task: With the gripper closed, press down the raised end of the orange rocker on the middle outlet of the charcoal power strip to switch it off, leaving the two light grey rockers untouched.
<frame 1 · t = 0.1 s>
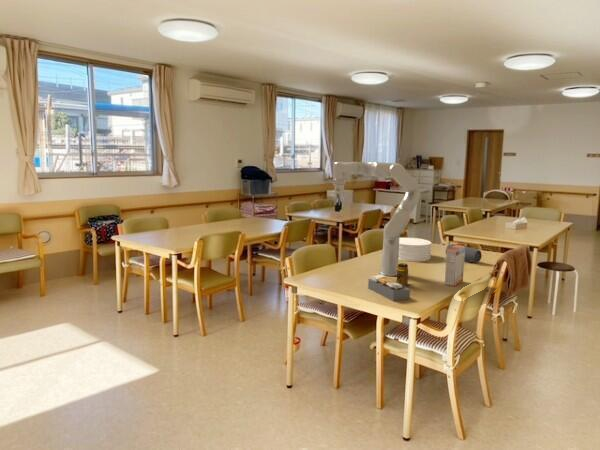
hand: (338, 210, 277), 37 cm above the table, tool pointing down, fingers open, 9 cm apart
bluetooth speaker: (462, 260, 316), on the table
cracker box: (453, 283, 259), on the table
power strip: (388, 293, 237), on the table
outlet 3 rocker: (394, 285, 229), point 6 cm above the table, hinge at -10.0°
outlet 1 rocker: (378, 278, 242), point 6 cm above the table, hinge at 10.0°
plate stack: (409, 257, 324), on the table
outlet 2 rocker: (386, 282, 236), point 6 cm above the table, hinge at -10.0°
condiment: (402, 285, 254), on the table
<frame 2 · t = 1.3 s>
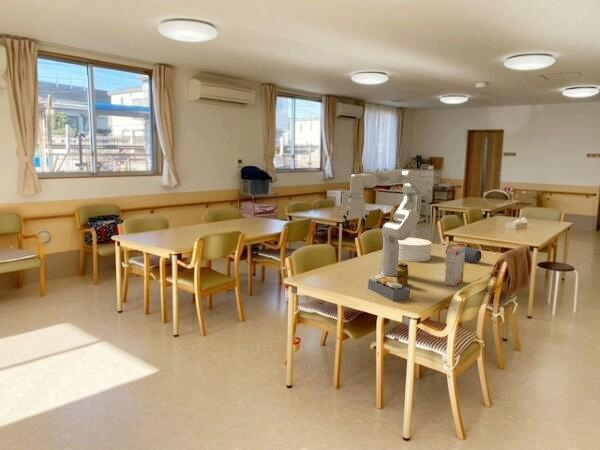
hand: (354, 226, 258), 31 cm above the table, tool pointing down, fingers open, 9 cm apart
nothing on the table moved.
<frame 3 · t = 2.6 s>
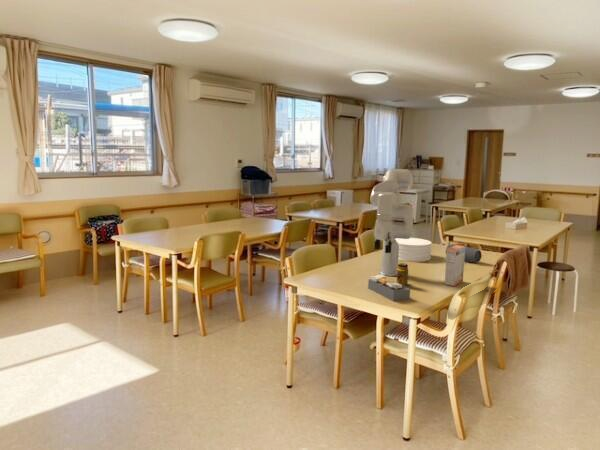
hand: (382, 250, 233), 23 cm above the table, tool pointing down, fingers open, 9 cm apart
nothing on the table moved.
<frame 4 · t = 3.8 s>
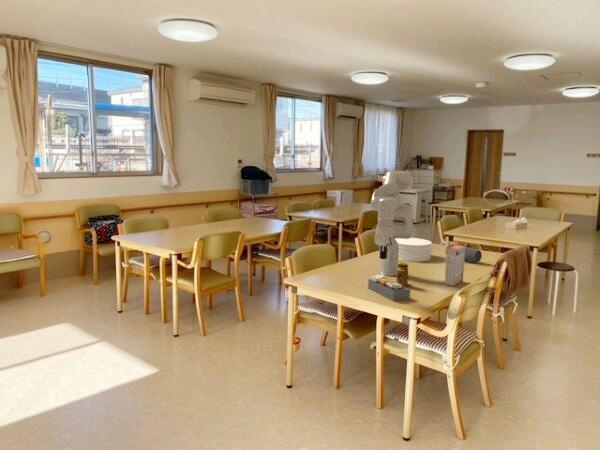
hand: (383, 258, 232), 19 cm above the table, tool pointing down, fingers closed
nothing on the table moved.
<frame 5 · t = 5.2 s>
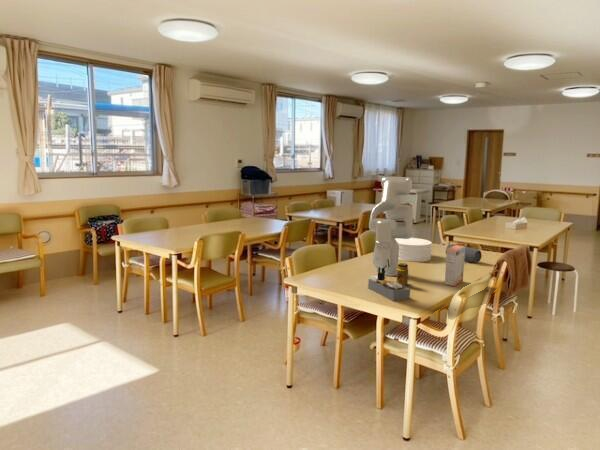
hand: (381, 279, 234), 8 cm above the table, tool pointing down, fingers closed
outlet 2 rocker: (386, 282, 236), point 6 cm above the table, hinge at -8.1°, touching gripper
everything else where it was.
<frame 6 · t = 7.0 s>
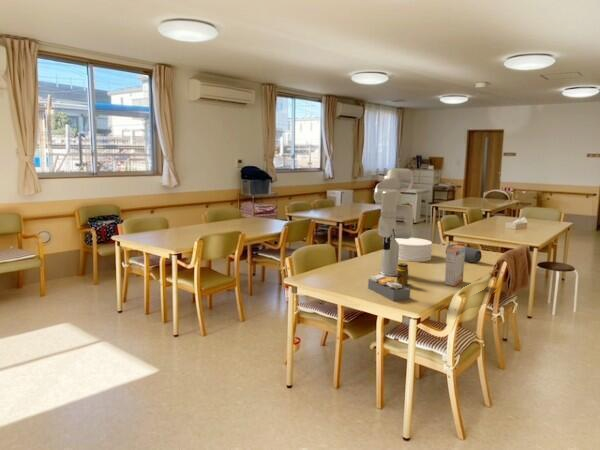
hand: (386, 249, 237), 23 cm above the table, tool pointing down, fingers closed
outlet 2 rocker: (386, 282, 236), point 6 cm above the table, hinge at 6.8°
everything else where it was.
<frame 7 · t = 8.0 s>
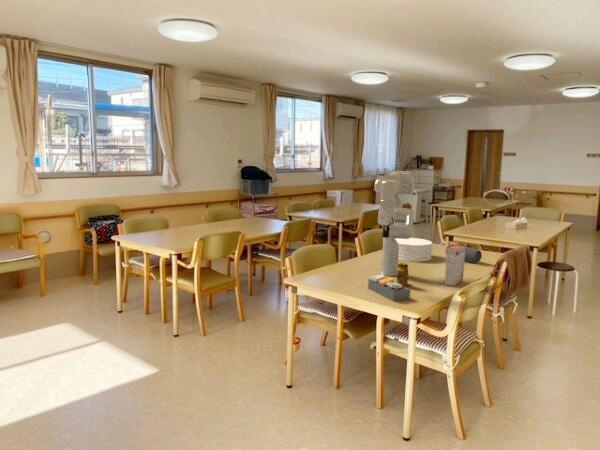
hand: (385, 237, 248), 27 cm above the table, tool pointing down, fingers closed
outlet 2 rocker: (386, 282, 236), point 6 cm above the table, hinge at 10.6°
everything else where it was.
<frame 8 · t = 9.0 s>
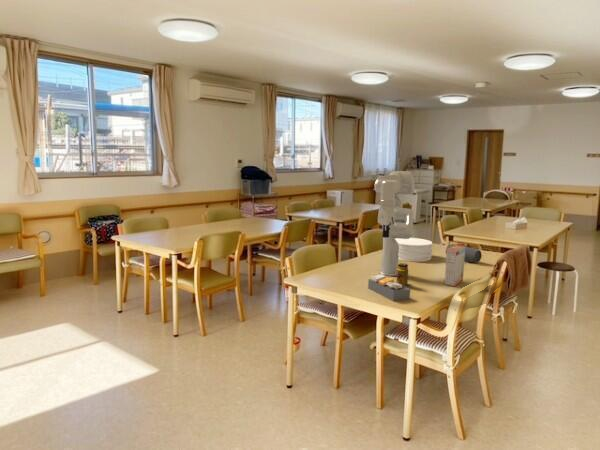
hand: (385, 237, 248), 27 cm above the table, tool pointing down, fingers closed
outlet 2 rocker: (386, 282, 236), point 6 cm above the table, hinge at 13.0°
everything else where it was.
at the end: outlet 2 rocker at +13° (first picture: -10°); outlet 1 rocker at +10° (first picture: +10°); outlet 3 rocker at -10° (first picture: -10°) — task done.
